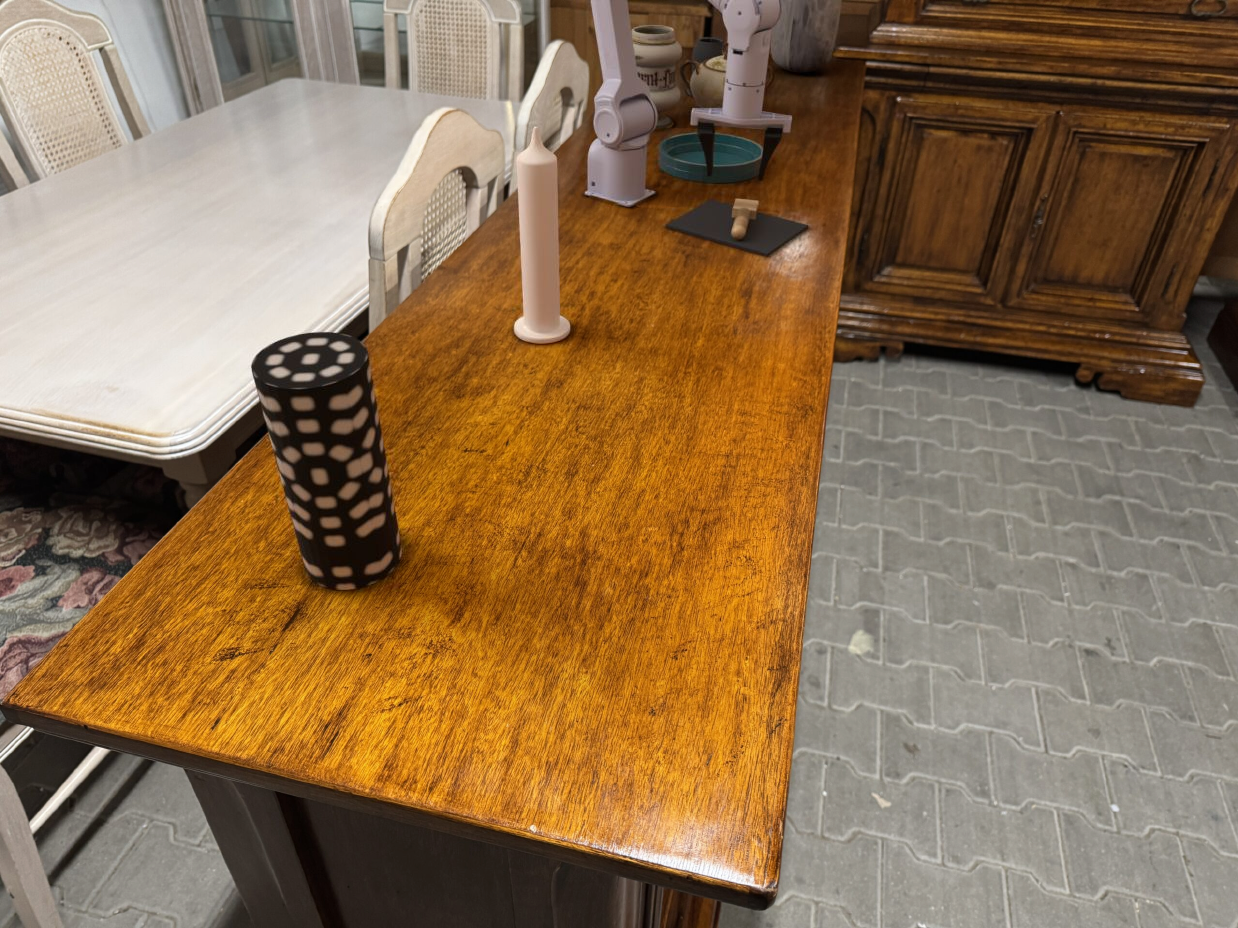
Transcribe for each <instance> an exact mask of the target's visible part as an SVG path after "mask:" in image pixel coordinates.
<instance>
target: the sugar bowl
mask: <svg viewBox="0 0 1238 928" xmlns="http://www.w3.org/2000/svg"><path fill="white" fill-rule="evenodd" d="M728 45H729V43H727V41H726V42H724V43H723V46H722V53H723V56H718V57H714V58H712V59H707V60H705V61H703V62H702V64H701V63H699V62H696V61H694V60H692V59H686V60H685V61H683V63H681V65H680V68H679V74H680V77H681V79H682V81H683V82H684V84H685V86H686V88H688V89H689V92H690V94H691V95H690V96H691V97H692V98H694V100H695V102H696V104H697V106H698V107H699V108H700V109H708V108H723V98H724V87H725V77H726V66H727V56H728V51H727V48H728ZM692 65H693V66H694V67H695V71H694V72H693V74H692V73H691V75H690V80H688V78H687V77H686V75H685V69H686V67H687V66H692ZM767 72H768V74H769V79H768V81H767V82H765V89H764V92H766V90H767V89H769V88H770V86H771V85H772V84H773V82H774V80H775V71H774V69H773V68H772V67H771V66H770V65H769V64H768V65H767Z"/></svg>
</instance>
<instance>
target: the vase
mask: <svg viewBox="0 0 1238 928" xmlns="http://www.w3.org/2000/svg"><path fill="white" fill-rule="evenodd" d="M781 1H782V13H781V17H780V19H779V21H778V23H777V24H776V25H775V26H774V27H773V28H771V29H772V32H771V40H770V53H771V58H772V61H773V62H774V63H775V64H776V66H778V67H779V68H781V69H783V70H785V71H788V72H791V73H795V74H807V73H813V72H816V71H819V70H820V69H822V68H824V67H825V66H827V64H828V63H829V61H830V59H831V57H832V55H833V51H834V48H835V44H836V40H837V36H838V30H839V25H840V19H841V18H840V17H841V11H842V2H843V0H781Z"/></svg>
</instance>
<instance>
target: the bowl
mask: <svg viewBox="0 0 1238 928" xmlns="http://www.w3.org/2000/svg"><path fill="white" fill-rule="evenodd" d="M762 153H763V146H762V145H761V144H759V143H758V142H756V141H754V140H752V139H749V138H745V137H742V136H739V135H733V134H728V133H722V132H721V133H720V132H715V139H714V150H713V172H712V176H711V177H710V176H707V167H706V160H705V156H704V152H703V148H702V145H701V143H700V140H699V138H698V134H697V132H689V133H680V134H677V135H673V136H672V135H671V136H669V137H667V138H665V139H663V140H662V141H661V142H660V143H659V144H658V153H657V166H658V167H659V169H660V170H661V171H662V172H664V173H666V174H667V175H669V176H672V177H675V178H677V179H682V180H685V181H690V182H695V183H696V182H697V183H705V184H731V183H732V184H733V183H738V182H744V181H745V182H746V181H748V180H751V179H754V178H756V177H758V175H759V168H760V163H761V158H762Z"/></svg>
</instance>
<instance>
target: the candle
mask: <svg viewBox="0 0 1238 928" xmlns="http://www.w3.org/2000/svg"><path fill="white" fill-rule="evenodd" d="M531 133H532V134H531V139H530V143H529V144H528V146H527V147H526V148H525V149H524V150H523V151H521V152H520V153H519V154H518V155H516V175H517V176H516V179H517V202H518V222H519V240H520V241H519V242H520V243H519V245H520V262H521V263H520V265H521V287H522V289H521V290H522V309H523V315H522V316H521V317H519V318H518V319H517V320H516V321H515V322H514V324H513V333H514V335H515V336H516V337H517V338H518V339H519V340H522V341H524V342H527V343H531V344H537V345H538V344H539V345H542V344H544V345H545V344H553V343H557V342H559V341H562V340H564V339H565V338H567V337H568V336H569V334H570V332H571V323H570V321H569V319H567V318H566V317H564V316H562V315H561V305H560V304H561V303H560V301H561V300H560V297H561V296H560V248H559V246H560V245H559V244H560V243H559V241H560V240H559V200H558V199H559V197H558V196H559V195H558V194H559V193H558V189H559V188H558V185H559V184H558V158H557V156H556V155H555V154H554V153H553V152H552V151H550V150H549V149H548V148H547V147H545V145H544V143H543V141H542V138H541V133H540V130H539V127H538V126H534V127H533V128H532V132H531Z"/></svg>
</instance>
